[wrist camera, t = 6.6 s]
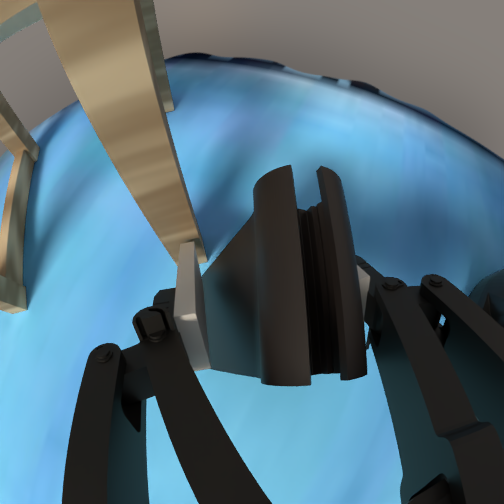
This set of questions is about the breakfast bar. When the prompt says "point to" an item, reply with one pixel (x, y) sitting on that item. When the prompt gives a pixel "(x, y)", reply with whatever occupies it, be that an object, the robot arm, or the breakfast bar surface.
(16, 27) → the trapdoor
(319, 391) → the breakfast bar surface
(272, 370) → the phone stand
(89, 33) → the trapdoor frame
